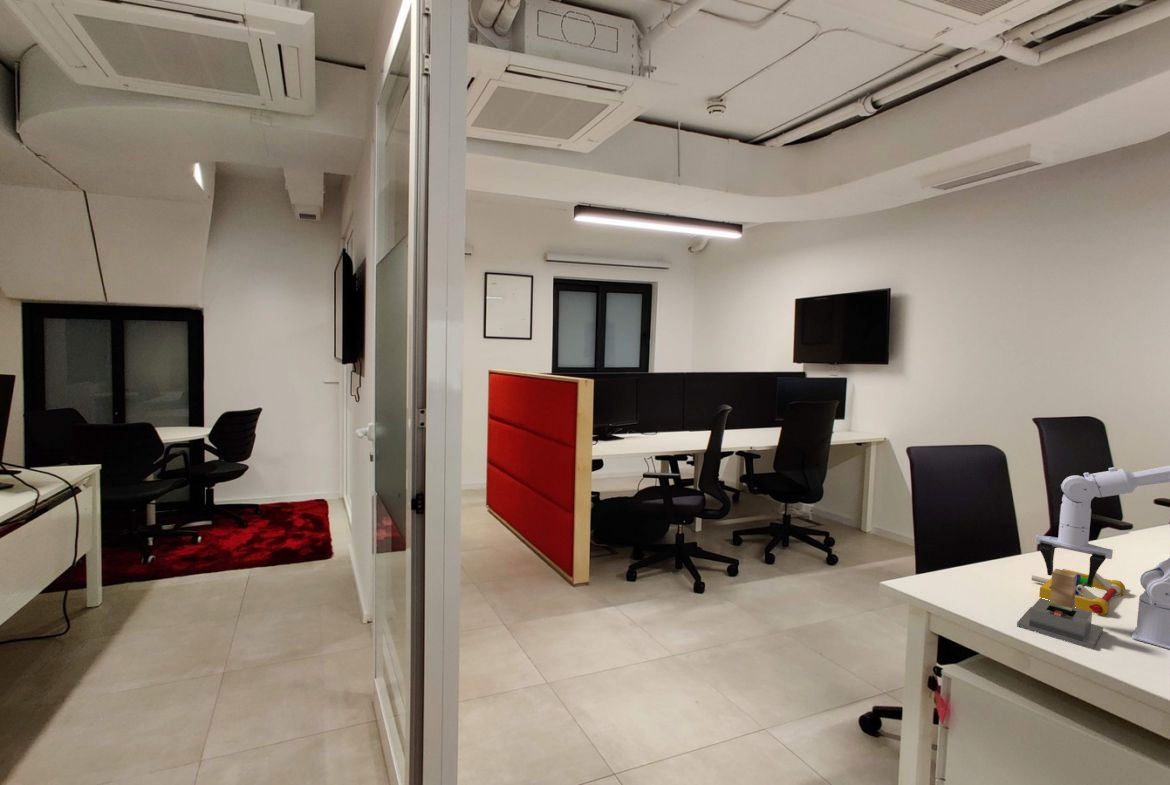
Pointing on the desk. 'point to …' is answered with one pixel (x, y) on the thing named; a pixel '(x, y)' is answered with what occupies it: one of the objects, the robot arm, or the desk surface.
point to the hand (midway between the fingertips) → (1069, 579)
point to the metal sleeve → (1062, 623)
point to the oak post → (1063, 589)
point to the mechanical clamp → (1087, 592)
